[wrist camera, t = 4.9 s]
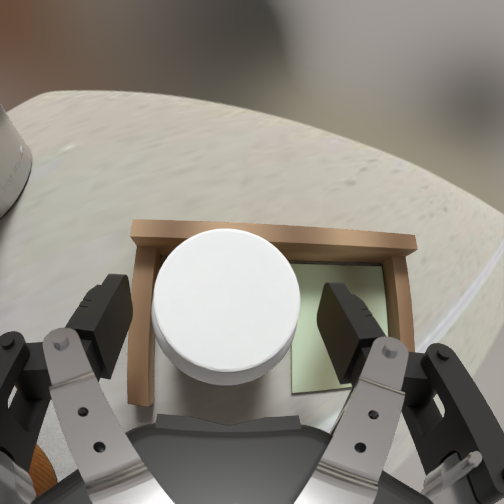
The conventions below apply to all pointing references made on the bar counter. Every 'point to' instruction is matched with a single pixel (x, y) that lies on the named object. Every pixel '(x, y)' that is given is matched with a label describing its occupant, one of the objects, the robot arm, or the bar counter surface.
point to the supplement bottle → (225, 306)
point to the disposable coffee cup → (41, 472)
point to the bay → (310, 286)
